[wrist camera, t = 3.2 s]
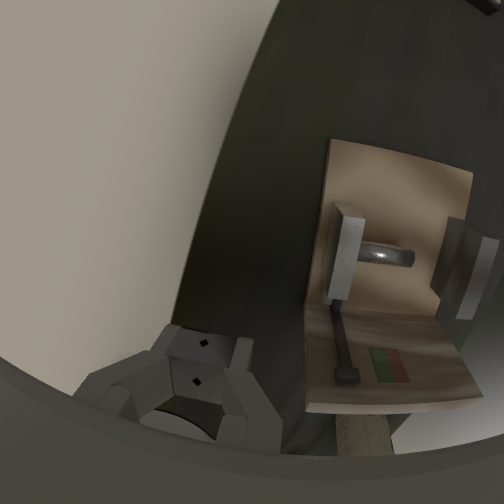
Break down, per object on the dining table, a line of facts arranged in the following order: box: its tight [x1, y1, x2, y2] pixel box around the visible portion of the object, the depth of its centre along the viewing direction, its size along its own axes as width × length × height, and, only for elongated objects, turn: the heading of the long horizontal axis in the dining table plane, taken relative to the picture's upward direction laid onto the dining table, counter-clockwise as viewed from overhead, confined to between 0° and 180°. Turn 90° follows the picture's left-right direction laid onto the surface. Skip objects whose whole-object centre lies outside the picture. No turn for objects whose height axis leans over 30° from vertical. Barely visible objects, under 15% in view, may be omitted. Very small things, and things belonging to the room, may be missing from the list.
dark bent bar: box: [329, 299, 361, 384], centre depth 21 cm, size 3×2×10 cm, turn 175°
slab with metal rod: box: [321, 201, 415, 305], centre depth 22 cm, size 8×7×5 cm
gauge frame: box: [303, 139, 500, 414], centre depth 19 cm, size 16×14×14 cm
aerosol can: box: [335, 414, 395, 457], centre depth 24 cm, size 7×7×20 cm
